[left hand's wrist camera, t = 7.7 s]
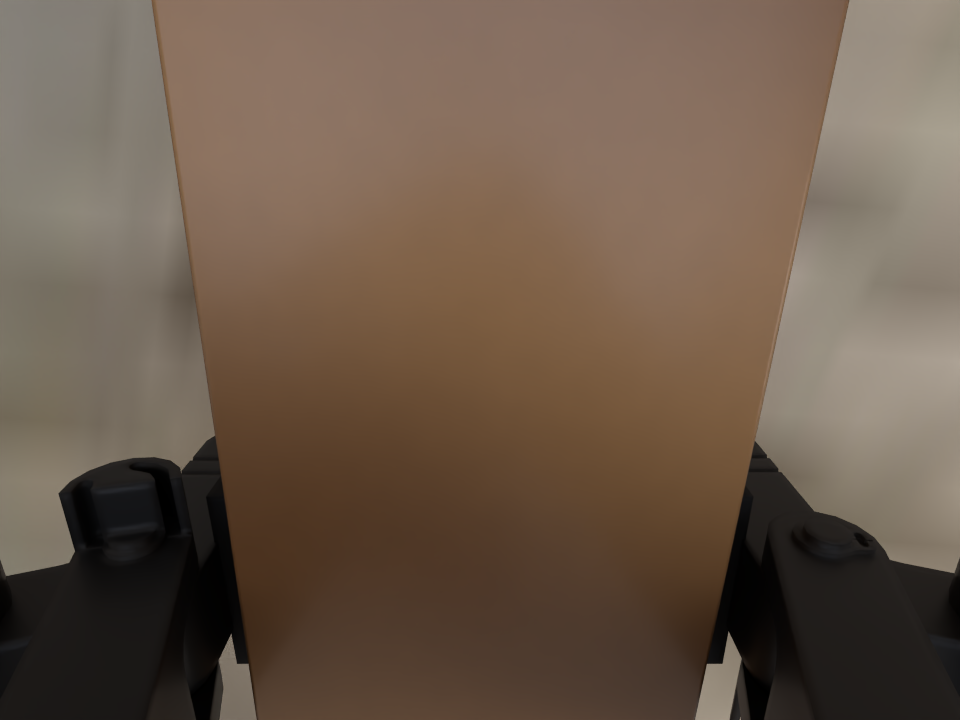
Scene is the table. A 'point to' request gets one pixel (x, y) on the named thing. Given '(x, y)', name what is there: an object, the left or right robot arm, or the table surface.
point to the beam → (489, 332)
